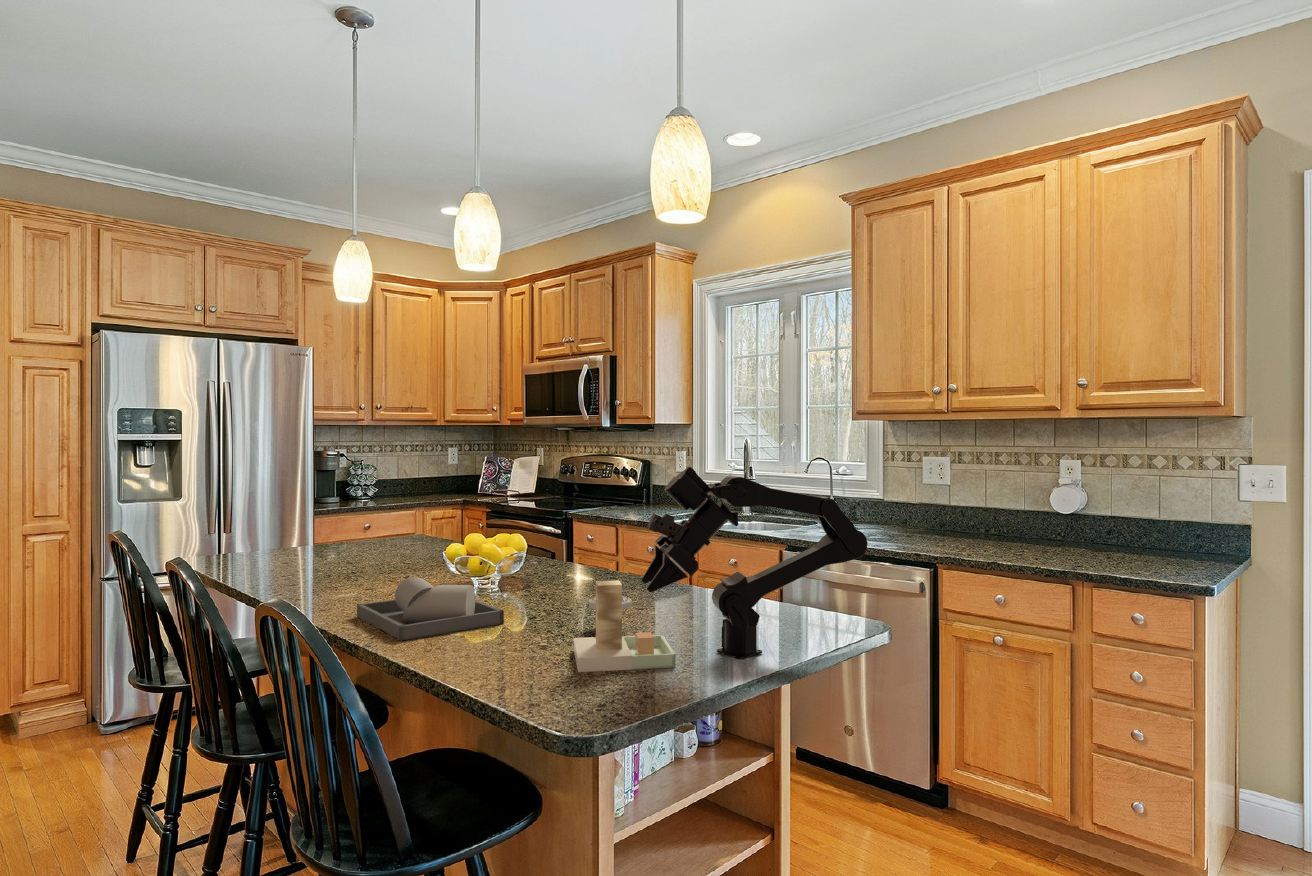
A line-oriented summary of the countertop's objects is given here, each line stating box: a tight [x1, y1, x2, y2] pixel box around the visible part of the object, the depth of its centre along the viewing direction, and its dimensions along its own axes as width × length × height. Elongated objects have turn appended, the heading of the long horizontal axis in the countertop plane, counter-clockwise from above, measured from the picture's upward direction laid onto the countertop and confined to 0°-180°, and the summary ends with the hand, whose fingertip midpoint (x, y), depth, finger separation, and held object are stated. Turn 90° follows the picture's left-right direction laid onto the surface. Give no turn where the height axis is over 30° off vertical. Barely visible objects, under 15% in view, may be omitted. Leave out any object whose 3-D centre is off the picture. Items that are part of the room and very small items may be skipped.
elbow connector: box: [394, 576, 476, 623], centre depth 177 cm, size 18×10×20 cm
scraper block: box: [595, 579, 623, 650], centre depth 145 cm, size 4×4×12 cm
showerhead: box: [588, 595, 632, 611], centre depth 169 cm, size 9×7×10 cm
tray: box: [622, 634, 677, 671], centre depth 147 cm, size 8×14×2 cm, turn 9°
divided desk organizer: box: [356, 598, 505, 642], centre depth 176 cm, size 27×24×3 cm
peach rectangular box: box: [634, 631, 654, 655], centre depth 147 cm, size 4×4×3 cm
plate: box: [573, 635, 633, 673], centre depth 145 cm, size 10×14×2 cm
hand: (645, 586), depth 147 cm, fingers open, 9 cm apart
